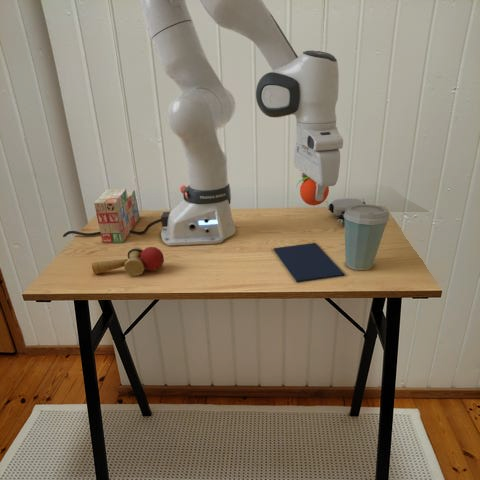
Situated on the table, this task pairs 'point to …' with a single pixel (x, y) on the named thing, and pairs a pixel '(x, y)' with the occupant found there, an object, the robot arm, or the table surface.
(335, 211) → the robot toy
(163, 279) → the table surface
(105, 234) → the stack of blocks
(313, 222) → the table surface
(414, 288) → the table surface
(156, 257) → the kendama
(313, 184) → the clementine
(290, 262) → the cloth
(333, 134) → the robot arm
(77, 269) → the table surface
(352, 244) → the disposable coffee cup
